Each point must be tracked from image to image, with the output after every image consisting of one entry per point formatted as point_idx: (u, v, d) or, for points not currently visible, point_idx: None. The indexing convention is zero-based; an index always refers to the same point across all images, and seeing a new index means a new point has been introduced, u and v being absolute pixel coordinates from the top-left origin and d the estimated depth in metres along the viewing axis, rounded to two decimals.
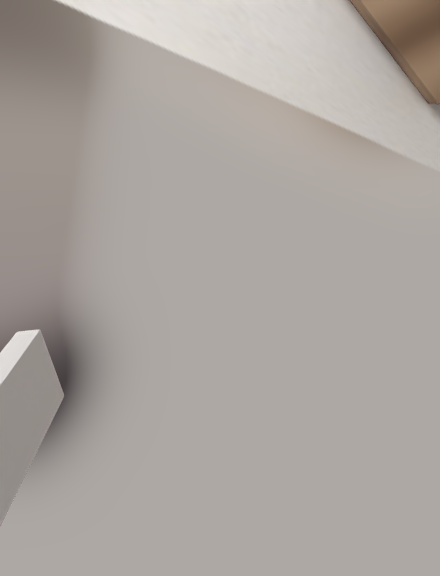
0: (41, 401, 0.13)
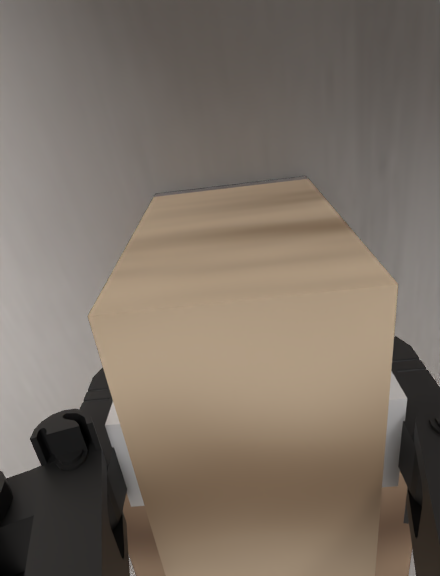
0: None
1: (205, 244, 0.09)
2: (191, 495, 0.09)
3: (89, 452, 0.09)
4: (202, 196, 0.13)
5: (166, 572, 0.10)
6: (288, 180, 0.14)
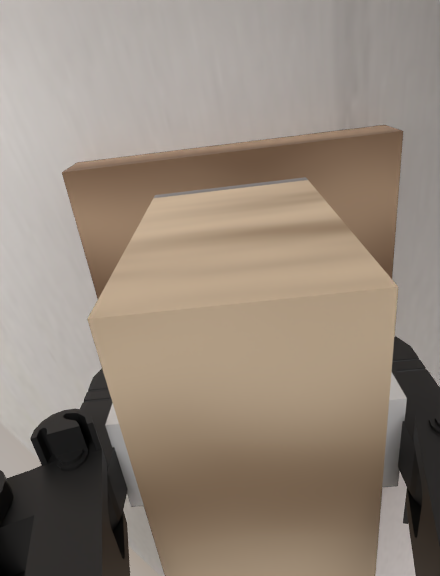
0: None
1: (204, 246, 0.09)
2: (191, 497, 0.09)
3: (89, 452, 0.09)
4: (202, 197, 0.13)
5: (166, 574, 0.10)
6: (288, 181, 0.13)
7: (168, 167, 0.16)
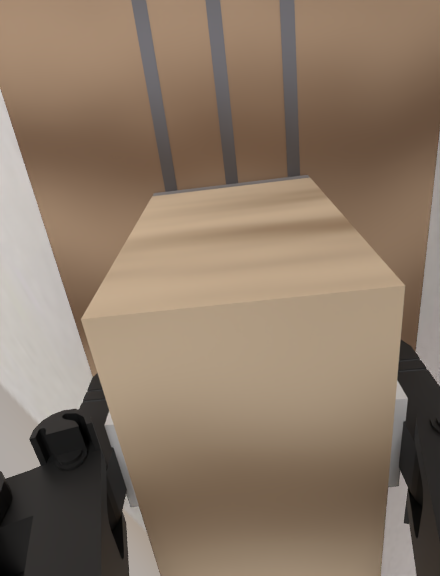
0: None
1: (203, 244, 0.09)
2: (190, 503, 0.09)
3: (88, 452, 0.09)
4: (201, 195, 0.13)
5: None
6: (289, 179, 0.13)
7: None
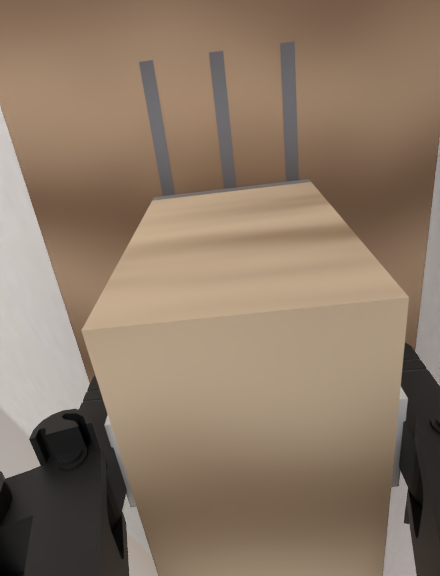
0: None
1: (205, 252, 0.09)
2: (191, 513, 0.09)
3: (88, 452, 0.09)
4: (202, 200, 0.13)
5: None
6: (290, 183, 0.13)
7: None
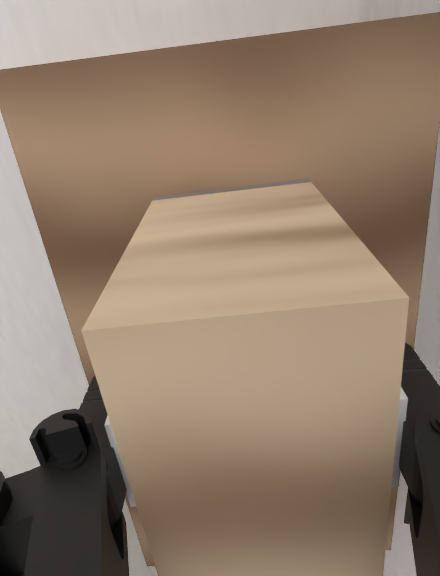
0: None
1: (205, 251, 0.09)
2: (191, 514, 0.09)
3: (88, 452, 0.09)
4: (202, 200, 0.13)
5: None
6: (290, 183, 0.13)
7: (132, 64, 0.12)
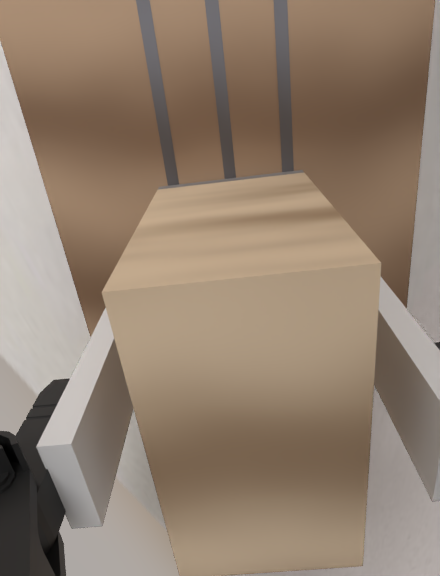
0: None
1: (207, 231, 0.10)
2: (194, 461, 0.10)
3: (16, 474, 0.08)
4: (203, 189, 0.14)
5: (170, 537, 0.11)
6: (285, 174, 0.14)
7: None
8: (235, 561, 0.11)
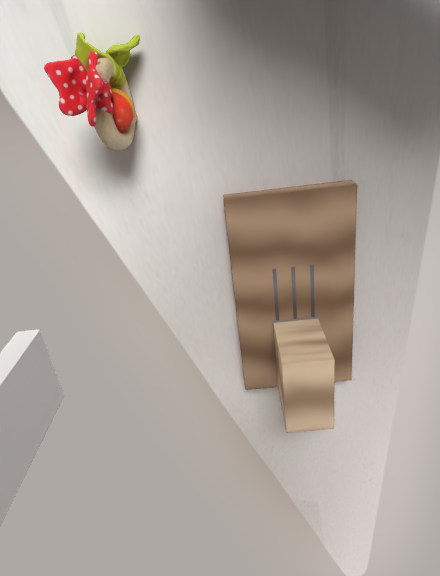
0: (41, 401, 0.13)
1: (297, 346, 0.43)
2: (294, 399, 0.43)
3: None
4: (288, 324, 0.47)
5: (286, 419, 0.44)
6: (312, 318, 0.47)
7: (265, 198, 0.41)
8: (301, 426, 0.44)
